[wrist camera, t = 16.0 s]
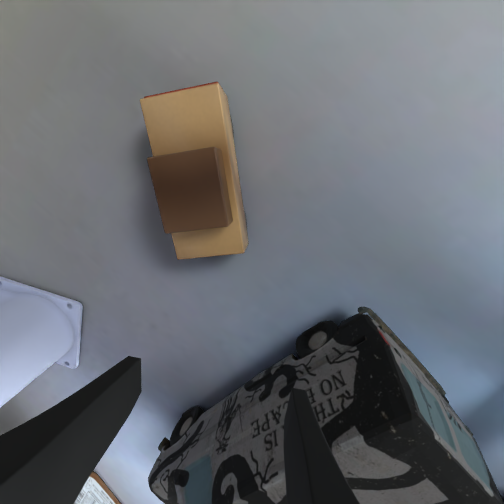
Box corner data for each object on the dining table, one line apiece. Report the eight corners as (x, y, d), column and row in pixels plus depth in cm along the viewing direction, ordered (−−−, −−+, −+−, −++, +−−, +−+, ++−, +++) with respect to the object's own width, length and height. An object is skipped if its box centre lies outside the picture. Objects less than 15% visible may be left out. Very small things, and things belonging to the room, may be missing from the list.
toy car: (165, 422, 26) (102, 560, 17) (357, 289, 19) (430, 396, 10) (233, 479, 28) (209, 635, 19) (434, 374, 21) (560, 538, 12)
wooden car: (250, 241, 19) (240, 261, 15) (192, 247, 20) (166, 268, 15) (229, 96, 16) (209, 65, 12) (163, 109, 17) (120, 84, 13)
